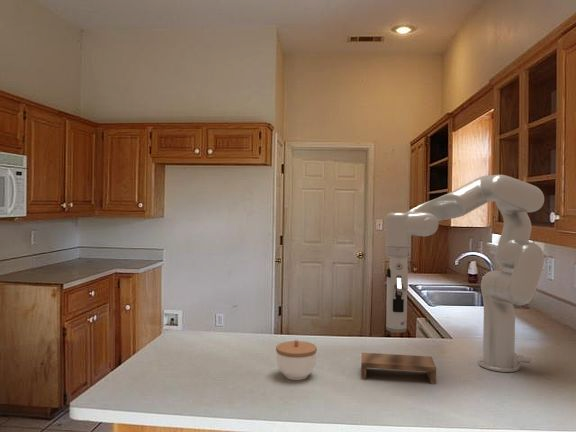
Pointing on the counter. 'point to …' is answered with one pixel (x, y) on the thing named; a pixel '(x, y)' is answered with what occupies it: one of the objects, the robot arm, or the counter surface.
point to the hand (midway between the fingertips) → (397, 309)
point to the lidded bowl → (296, 359)
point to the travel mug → (395, 319)
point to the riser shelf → (399, 363)
